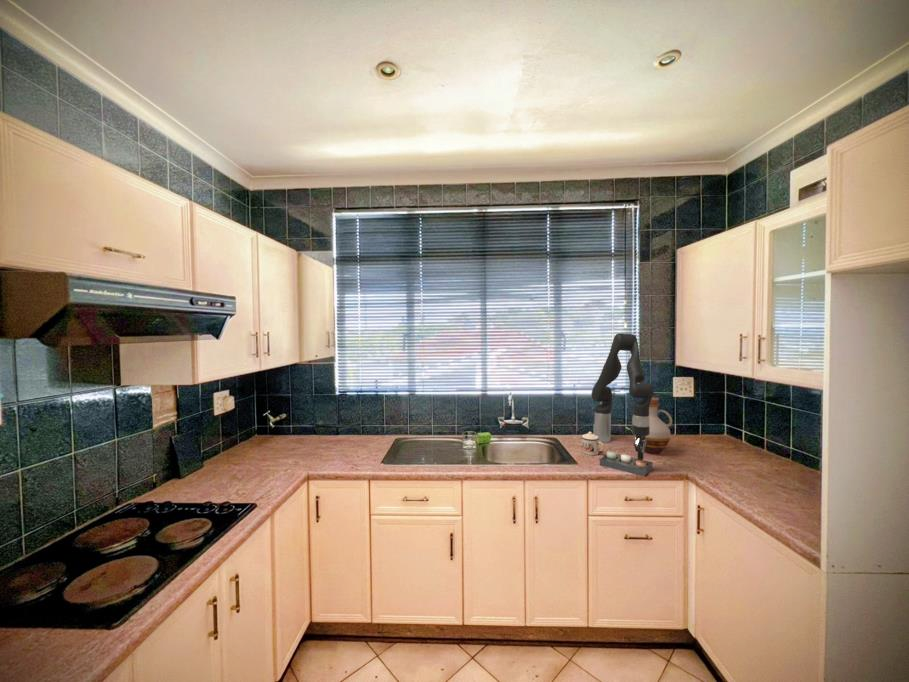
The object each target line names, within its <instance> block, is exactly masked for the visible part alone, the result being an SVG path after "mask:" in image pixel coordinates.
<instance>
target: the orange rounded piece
mask: <svg viewBox="0 0 909 682" xmlns="http://www.w3.org/2000/svg"><path fill="white" fill-rule="evenodd" d="M636 465H638V466H642V467H646V462H644V461H636Z"/></svg>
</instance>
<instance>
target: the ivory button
mask: <svg viewBox="0 0 909 682" xmlns="http://www.w3.org/2000/svg"><path fill="white" fill-rule="evenodd" d="M620 455H621V462H625V463H629V464H630V463H631V458H632V457H631V455H630V454H625V453H623V454H622V453H621V454H620Z"/></svg>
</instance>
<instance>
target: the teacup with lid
mask: <svg viewBox="0 0 909 682" xmlns="http://www.w3.org/2000/svg"><path fill="white" fill-rule="evenodd" d="M599 445H601V448H599ZM604 448H605V445H604V442H600V441H599V437H598V436H596V435H594V434H593V432H592V431H588V432H587V433H584V434H582V435H581V452H582V454H585V455H588V456H597V455H599V452H600V451H602V450H604Z"/></svg>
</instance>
